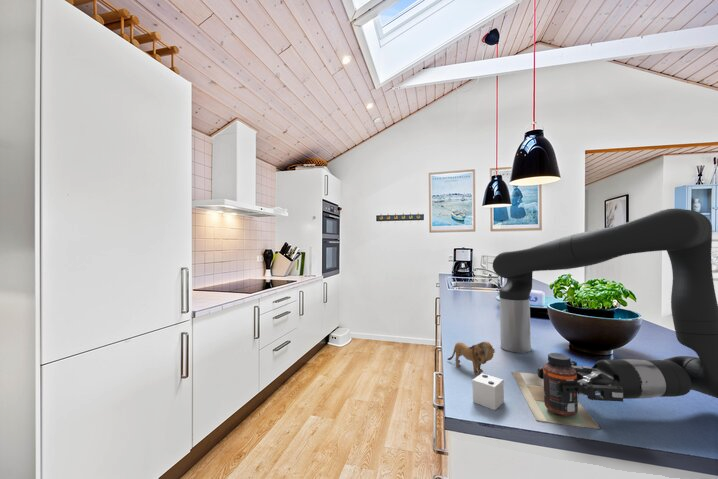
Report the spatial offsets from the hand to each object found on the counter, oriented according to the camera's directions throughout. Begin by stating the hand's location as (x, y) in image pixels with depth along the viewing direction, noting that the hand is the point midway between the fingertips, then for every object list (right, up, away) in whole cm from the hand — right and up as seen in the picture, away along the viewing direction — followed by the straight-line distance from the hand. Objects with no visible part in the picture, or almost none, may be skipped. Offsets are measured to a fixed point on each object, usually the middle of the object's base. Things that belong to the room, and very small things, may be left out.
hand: (547, 379), depth 64 cm
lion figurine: (-8, -8, +23) cm, 26 cm away
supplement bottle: (+3, -6, 0) cm, 7 cm away
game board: (+5, -7, +7) cm, 11 cm away
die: (-10, -7, +5) cm, 14 cm away
